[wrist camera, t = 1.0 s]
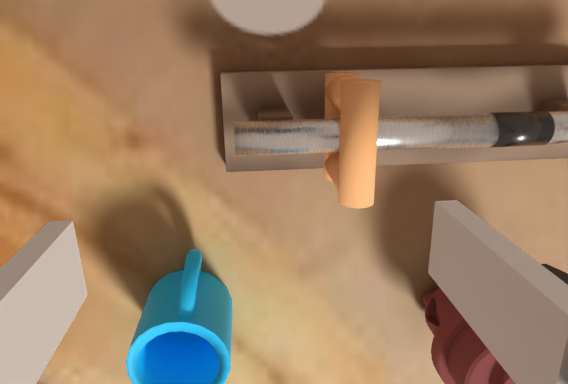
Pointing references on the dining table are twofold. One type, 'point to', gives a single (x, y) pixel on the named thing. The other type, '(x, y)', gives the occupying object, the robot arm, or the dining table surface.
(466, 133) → the rod
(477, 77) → the stand
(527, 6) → the dining table surface
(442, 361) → the mechanical component
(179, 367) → the mug
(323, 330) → the dining table surface
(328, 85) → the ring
